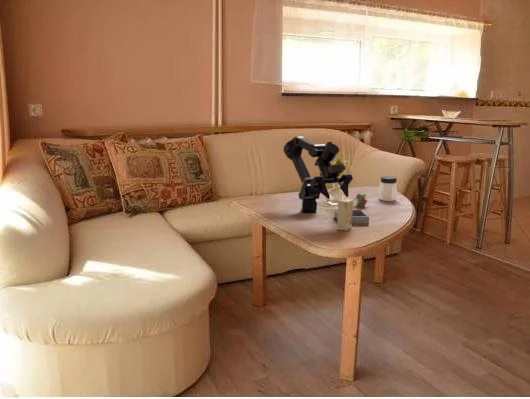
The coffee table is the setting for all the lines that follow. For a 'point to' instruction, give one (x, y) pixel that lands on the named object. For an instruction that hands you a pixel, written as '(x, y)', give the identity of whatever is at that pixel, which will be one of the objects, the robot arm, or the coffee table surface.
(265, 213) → the coffee table surface
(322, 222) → the coffee table surface
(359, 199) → the geometric puzzle
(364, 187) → the coffee table surface
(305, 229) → the coffee table surface
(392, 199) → the jar
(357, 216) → the tray
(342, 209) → the skincare box
